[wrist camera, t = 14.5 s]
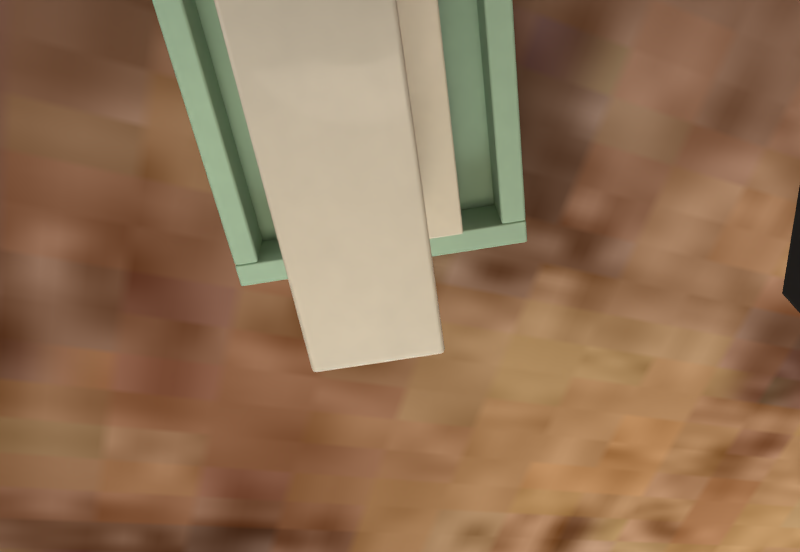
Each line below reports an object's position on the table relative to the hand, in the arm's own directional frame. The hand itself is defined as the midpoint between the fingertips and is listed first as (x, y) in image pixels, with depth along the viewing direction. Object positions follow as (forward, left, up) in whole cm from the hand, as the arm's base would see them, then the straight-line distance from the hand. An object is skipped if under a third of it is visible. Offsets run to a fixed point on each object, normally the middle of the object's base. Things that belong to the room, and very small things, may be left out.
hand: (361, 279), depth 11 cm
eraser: (0, 0, -13) cm, 13 cm away
